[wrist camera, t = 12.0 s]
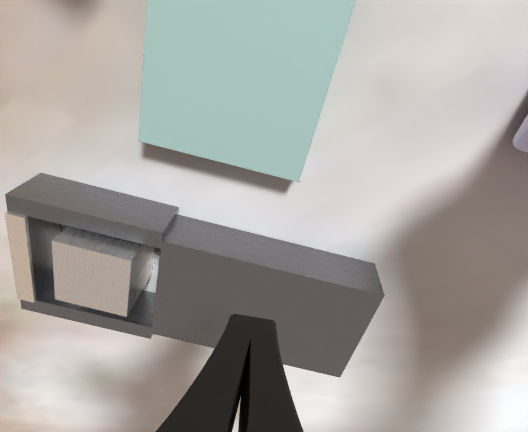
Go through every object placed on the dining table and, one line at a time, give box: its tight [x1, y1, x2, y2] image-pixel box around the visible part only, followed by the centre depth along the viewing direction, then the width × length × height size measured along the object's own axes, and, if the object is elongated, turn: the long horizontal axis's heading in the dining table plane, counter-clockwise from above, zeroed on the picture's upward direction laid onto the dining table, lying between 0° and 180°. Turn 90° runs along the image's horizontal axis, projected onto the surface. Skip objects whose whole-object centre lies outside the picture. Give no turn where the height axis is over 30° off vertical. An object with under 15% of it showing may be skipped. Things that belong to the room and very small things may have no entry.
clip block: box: [52, 226, 155, 317], centre depth 20 cm, size 4×4×4 cm
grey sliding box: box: [5, 173, 384, 377], centre depth 21 cm, size 20×8×3 cm, turn 77°
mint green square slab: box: [139, 0, 356, 182], centre depth 16 cm, size 8×8×2 cm
